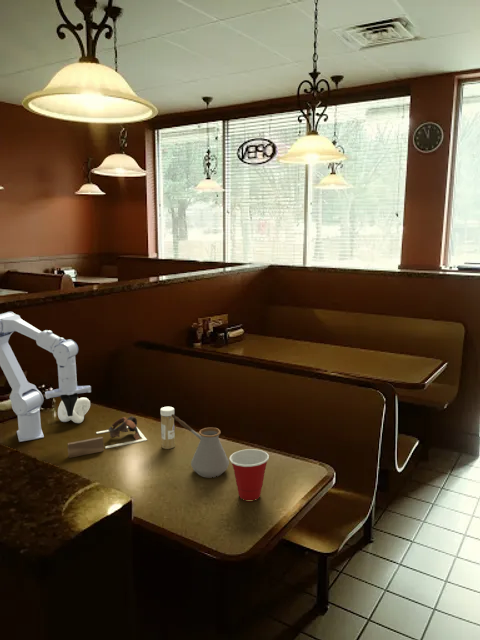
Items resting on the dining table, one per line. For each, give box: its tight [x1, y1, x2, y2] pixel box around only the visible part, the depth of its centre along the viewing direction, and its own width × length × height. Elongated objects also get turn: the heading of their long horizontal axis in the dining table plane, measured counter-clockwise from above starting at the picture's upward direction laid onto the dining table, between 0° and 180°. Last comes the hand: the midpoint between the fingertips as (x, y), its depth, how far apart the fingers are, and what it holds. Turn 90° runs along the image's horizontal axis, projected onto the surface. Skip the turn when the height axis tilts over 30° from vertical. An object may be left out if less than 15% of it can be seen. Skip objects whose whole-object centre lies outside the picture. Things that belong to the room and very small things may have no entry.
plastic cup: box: [228, 448, 270, 501], centre depth 142 cm, size 11×11×12 cm
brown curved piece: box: [108, 415, 141, 441], centre depth 181 cm, size 12×10×8 cm
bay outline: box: [95, 426, 148, 449], centre depth 181 cm, size 14×14×1 cm
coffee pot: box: [169, 414, 230, 478], centre depth 158 cm, size 21×12×15 cm, turn 55°
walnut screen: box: [67, 436, 105, 459], centre depth 168 cm, size 1×11×4 cm, turn 118°
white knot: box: [57, 397, 91, 424], centre depth 195 cm, size 11×12×9 cm
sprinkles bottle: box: [160, 406, 176, 450], centre depth 172 cm, size 5×5×14 cm
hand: (69, 415), depth 176 cm, fingers closed
